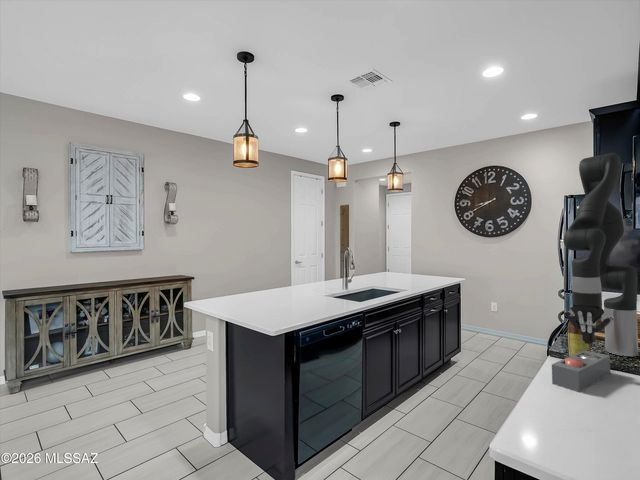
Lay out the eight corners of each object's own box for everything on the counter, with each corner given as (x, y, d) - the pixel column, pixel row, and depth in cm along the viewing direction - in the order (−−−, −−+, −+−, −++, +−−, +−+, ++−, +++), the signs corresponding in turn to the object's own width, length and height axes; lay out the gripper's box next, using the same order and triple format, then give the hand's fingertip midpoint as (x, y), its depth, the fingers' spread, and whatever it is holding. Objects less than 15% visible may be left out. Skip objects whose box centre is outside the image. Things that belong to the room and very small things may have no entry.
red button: (569, 372, 106) (569, 357, 106) (586, 377, 102) (585, 361, 102) (562, 376, 104) (562, 360, 104) (579, 381, 100) (578, 364, 100)
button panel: (584, 367, 114) (584, 349, 114) (610, 374, 108) (609, 355, 108) (552, 383, 103) (551, 364, 103) (578, 392, 97) (578, 371, 97)
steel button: (584, 368, 111) (583, 353, 111) (600, 372, 108) (599, 357, 108) (578, 371, 109) (577, 356, 109) (594, 375, 105) (593, 360, 105)
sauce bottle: (595, 366, 115) (593, 308, 115) (575, 365, 116) (573, 308, 116) (584, 359, 122) (582, 304, 121) (565, 358, 123) (563, 304, 123)
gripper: (617, 291, 104) (619, 346, 105) (568, 286, 116) (570, 336, 116) (607, 294, 100) (609, 351, 101) (557, 289, 112) (560, 340, 112)
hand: (588, 343), depth 108 cm, fingers closed
